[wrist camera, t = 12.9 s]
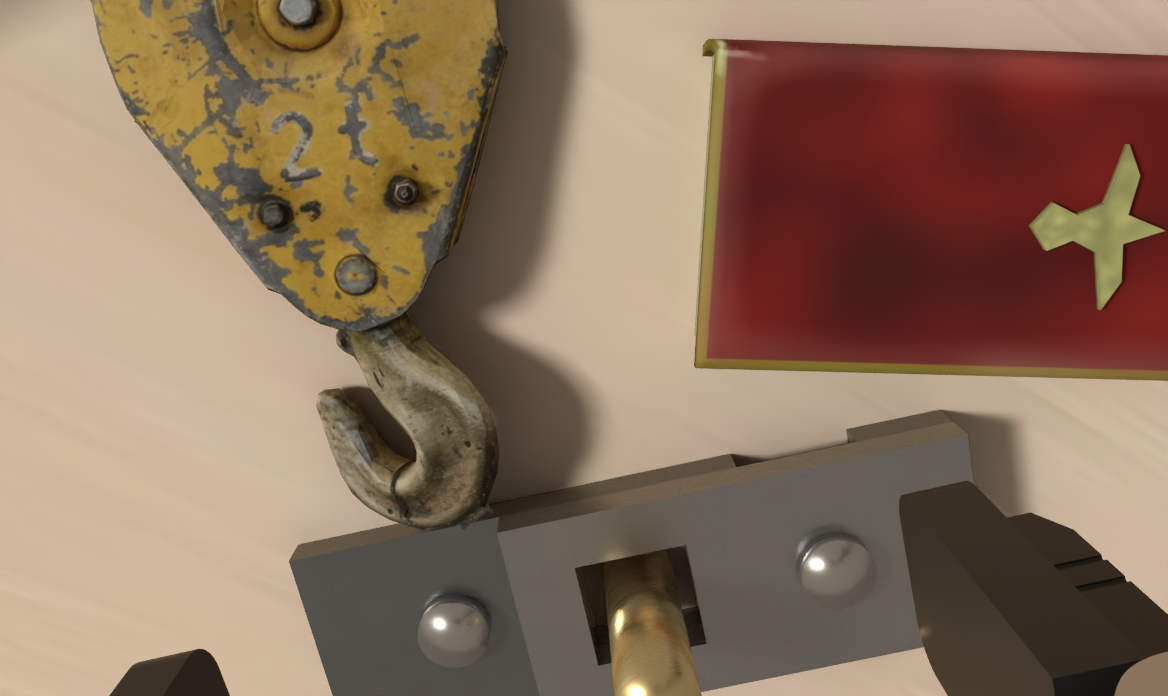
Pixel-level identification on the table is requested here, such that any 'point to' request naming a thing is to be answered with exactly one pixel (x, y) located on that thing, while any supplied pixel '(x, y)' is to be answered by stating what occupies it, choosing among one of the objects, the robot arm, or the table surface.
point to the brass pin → (647, 628)
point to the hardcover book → (934, 211)
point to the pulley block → (337, 194)
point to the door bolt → (627, 528)
